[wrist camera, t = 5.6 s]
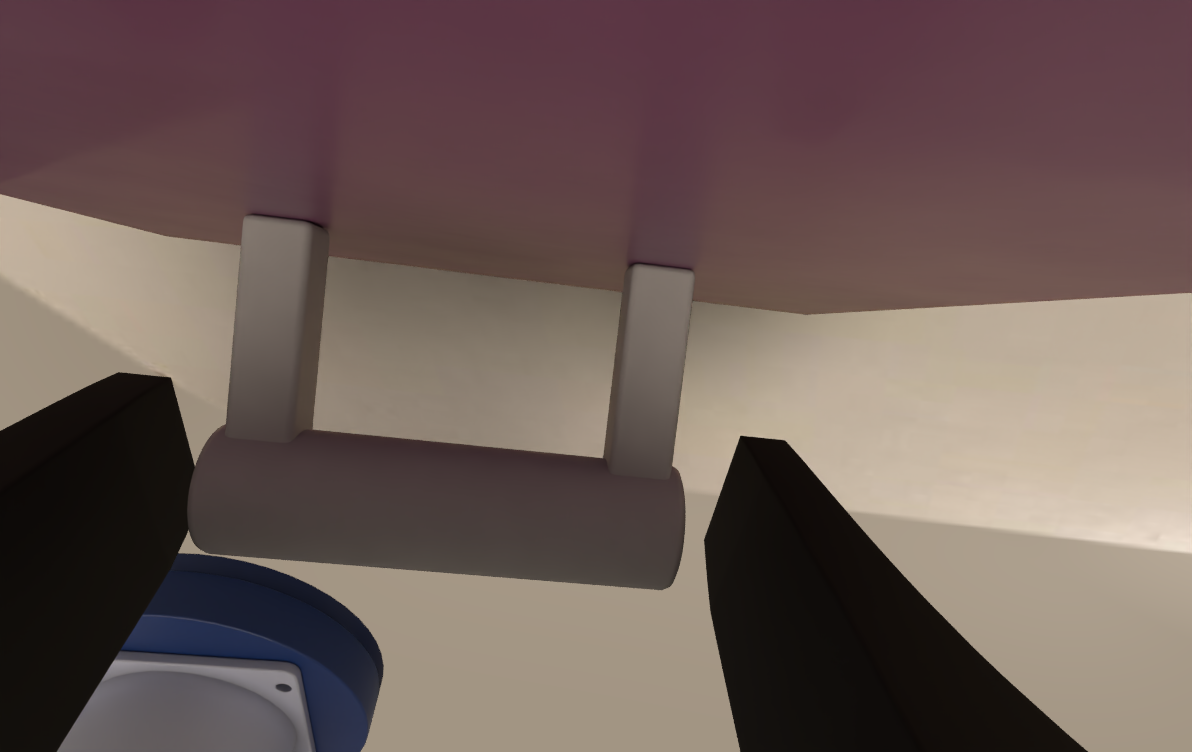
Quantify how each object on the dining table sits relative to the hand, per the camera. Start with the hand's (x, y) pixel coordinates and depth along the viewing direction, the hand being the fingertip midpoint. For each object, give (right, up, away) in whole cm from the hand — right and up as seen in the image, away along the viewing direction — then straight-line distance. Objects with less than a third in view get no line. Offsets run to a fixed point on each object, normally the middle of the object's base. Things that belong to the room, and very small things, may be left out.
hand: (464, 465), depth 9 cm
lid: (+1, +3, -4) cm, 5 cm away
